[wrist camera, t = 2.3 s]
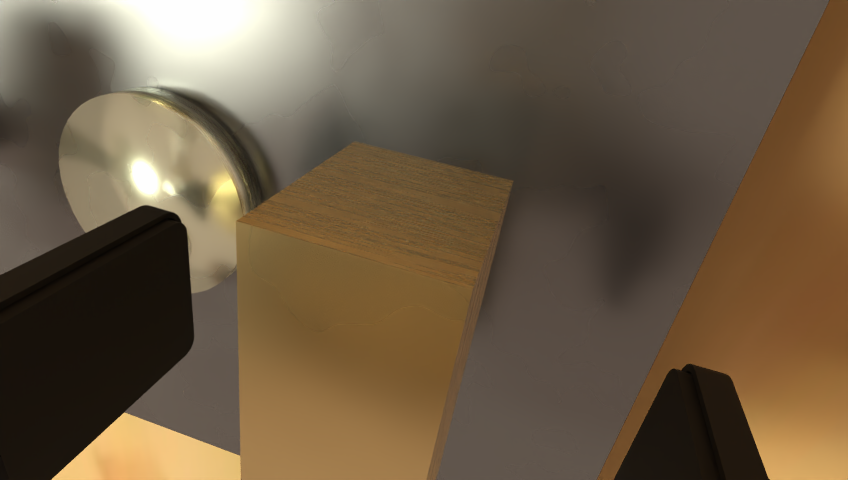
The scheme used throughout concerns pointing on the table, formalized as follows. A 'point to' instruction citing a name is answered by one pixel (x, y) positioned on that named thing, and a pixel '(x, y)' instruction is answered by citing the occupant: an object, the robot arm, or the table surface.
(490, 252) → the wooden bar knob
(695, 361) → the table surface
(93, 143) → the levelling plate
